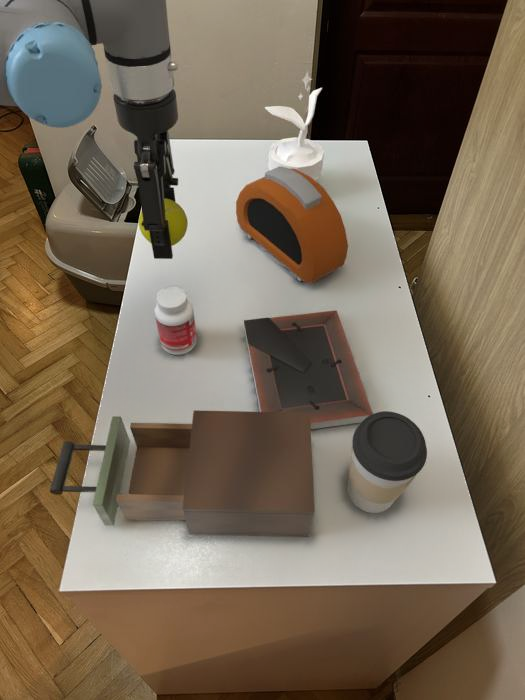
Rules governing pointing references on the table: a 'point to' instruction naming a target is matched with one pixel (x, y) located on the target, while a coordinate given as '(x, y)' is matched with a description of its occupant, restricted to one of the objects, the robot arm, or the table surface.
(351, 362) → the picture frame
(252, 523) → the cabinet
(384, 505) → the coffee cup
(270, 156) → the potted plant
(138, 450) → the drawer
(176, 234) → the tennis ball
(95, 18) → the robot arm
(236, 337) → the table surface
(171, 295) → the pill bottle
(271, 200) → the alarm clock
